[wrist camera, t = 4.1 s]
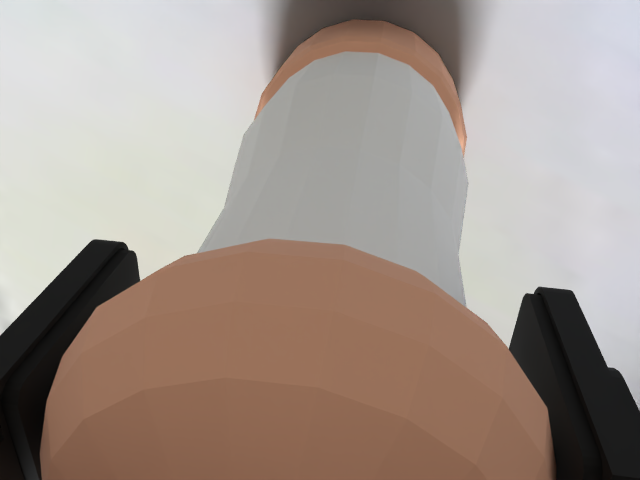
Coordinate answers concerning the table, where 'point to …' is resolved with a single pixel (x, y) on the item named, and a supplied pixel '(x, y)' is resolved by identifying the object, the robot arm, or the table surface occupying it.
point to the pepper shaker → (312, 304)
